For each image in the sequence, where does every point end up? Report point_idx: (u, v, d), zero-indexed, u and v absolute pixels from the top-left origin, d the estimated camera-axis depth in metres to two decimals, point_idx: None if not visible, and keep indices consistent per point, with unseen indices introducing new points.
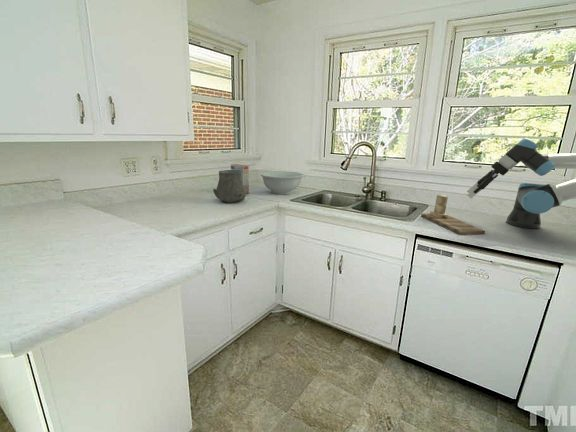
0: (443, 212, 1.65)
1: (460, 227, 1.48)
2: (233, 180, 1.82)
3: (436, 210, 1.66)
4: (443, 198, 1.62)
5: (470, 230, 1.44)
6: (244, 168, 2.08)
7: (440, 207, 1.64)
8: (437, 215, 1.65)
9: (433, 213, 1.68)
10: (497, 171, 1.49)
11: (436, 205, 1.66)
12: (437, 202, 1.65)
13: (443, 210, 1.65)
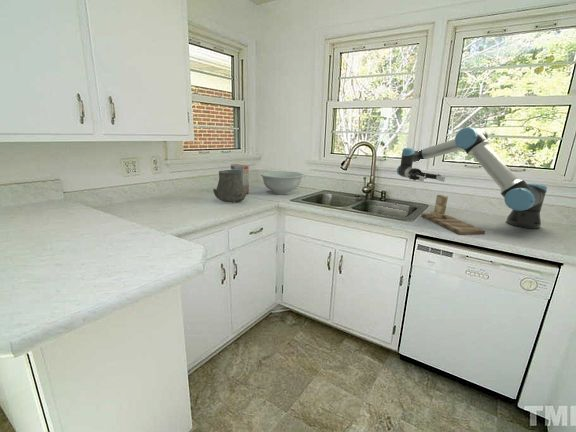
0: (443, 212, 1.65)
1: (460, 227, 1.48)
2: (233, 180, 1.82)
3: (436, 210, 1.66)
4: (443, 198, 1.62)
5: (470, 230, 1.44)
6: (244, 168, 2.08)
7: (440, 207, 1.64)
8: (437, 215, 1.65)
9: (433, 213, 1.68)
10: None
11: (436, 205, 1.66)
12: (437, 202, 1.65)
13: (443, 210, 1.65)
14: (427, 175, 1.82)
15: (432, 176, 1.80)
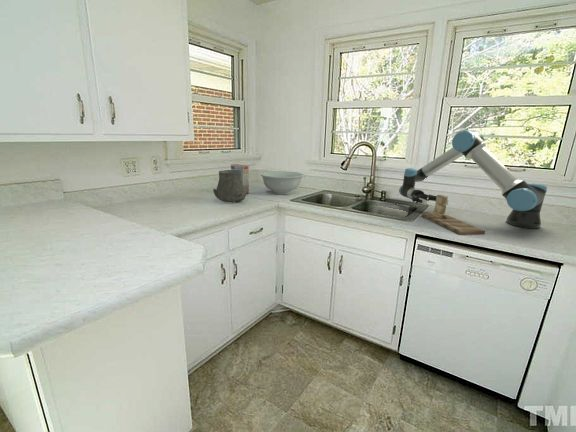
0: (443, 212, 1.65)
1: (460, 227, 1.48)
2: (233, 180, 1.82)
3: (436, 210, 1.66)
4: (443, 198, 1.62)
5: (470, 230, 1.44)
6: (244, 168, 2.08)
7: (440, 207, 1.64)
8: (437, 215, 1.65)
9: (433, 213, 1.68)
10: (413, 196, 1.84)
11: (436, 205, 1.66)
12: (437, 202, 1.65)
13: (443, 210, 1.65)
14: (430, 197, 1.79)
15: (435, 198, 1.78)
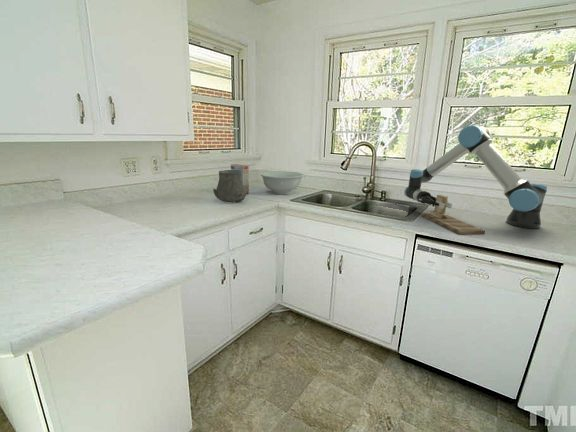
0: (443, 212, 1.65)
1: (460, 227, 1.48)
2: (233, 180, 1.82)
3: (436, 210, 1.66)
4: (443, 198, 1.62)
5: (470, 230, 1.44)
6: (244, 168, 2.08)
7: None
8: (437, 215, 1.65)
9: (433, 213, 1.68)
10: None
11: None
12: None
13: (443, 210, 1.65)
14: (435, 199, 1.73)
15: None
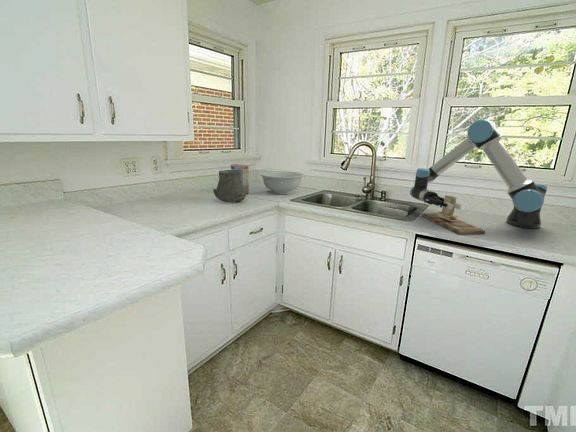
0: (451, 213, 1.57)
1: (460, 227, 1.48)
2: (233, 180, 1.82)
3: (444, 211, 1.59)
4: (451, 199, 1.55)
5: (470, 230, 1.44)
6: (244, 168, 2.08)
7: None
8: (445, 216, 1.57)
9: (441, 214, 1.61)
10: None
11: None
12: None
13: (451, 211, 1.57)
14: (442, 200, 1.65)
15: None
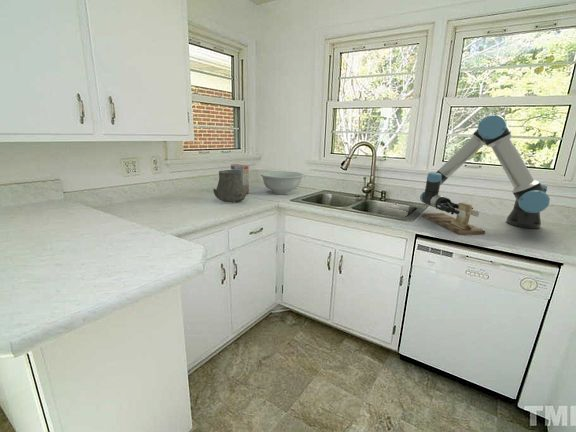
0: (466, 222, 1.48)
1: None
2: (233, 180, 1.82)
3: (458, 219, 1.49)
4: (467, 206, 1.46)
5: (470, 230, 1.44)
6: (244, 168, 2.08)
7: None
8: (460, 225, 1.48)
9: (455, 223, 1.51)
10: None
11: None
12: None
13: (466, 219, 1.48)
14: (457, 206, 1.56)
15: None
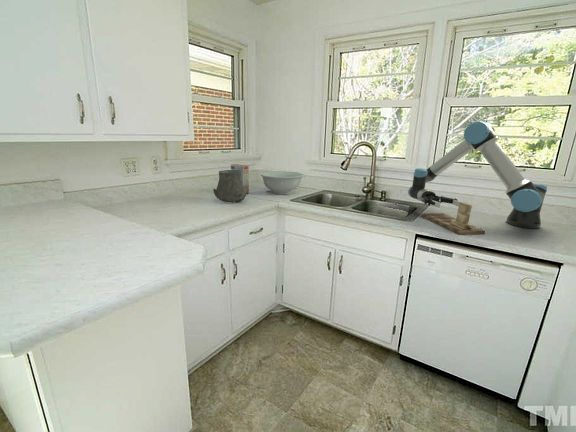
0: (466, 222, 1.48)
1: None
2: (233, 180, 1.82)
3: (458, 219, 1.49)
4: (467, 206, 1.46)
5: (470, 230, 1.44)
6: (244, 168, 2.08)
7: (463, 216, 1.47)
8: (460, 225, 1.48)
9: (455, 223, 1.51)
10: None
11: (458, 214, 1.49)
12: (460, 211, 1.48)
13: (466, 219, 1.48)
14: (442, 199, 1.69)
15: (448, 200, 1.67)
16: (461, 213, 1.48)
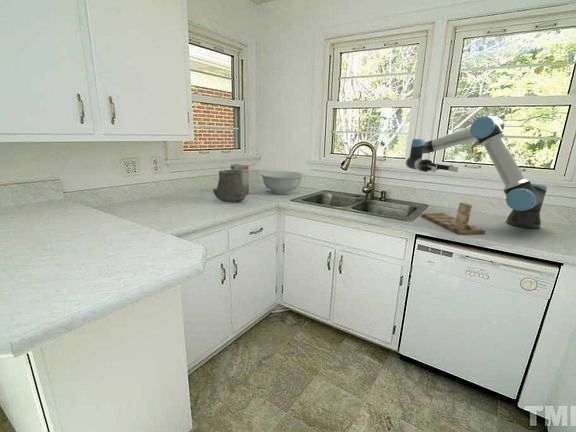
0: (466, 222, 1.48)
1: None
2: (233, 180, 1.82)
3: (458, 219, 1.49)
4: (467, 206, 1.46)
5: (470, 230, 1.44)
6: (244, 168, 2.08)
7: (463, 216, 1.47)
8: (460, 225, 1.48)
9: (455, 223, 1.51)
10: None
11: (458, 214, 1.49)
12: (460, 211, 1.48)
13: (466, 219, 1.48)
14: (439, 166, 1.74)
15: (444, 167, 1.72)
16: (461, 213, 1.48)
